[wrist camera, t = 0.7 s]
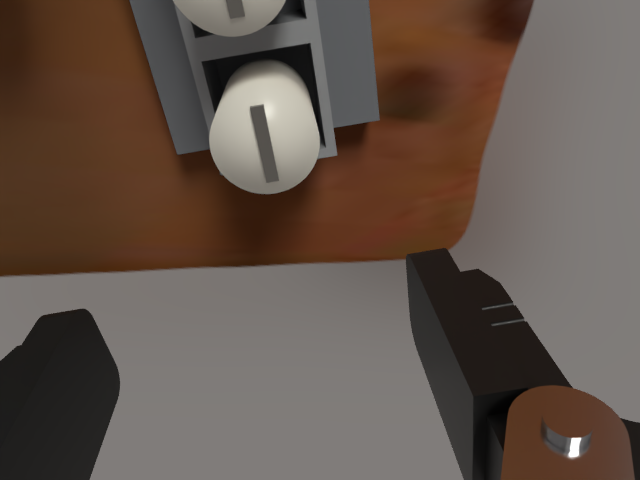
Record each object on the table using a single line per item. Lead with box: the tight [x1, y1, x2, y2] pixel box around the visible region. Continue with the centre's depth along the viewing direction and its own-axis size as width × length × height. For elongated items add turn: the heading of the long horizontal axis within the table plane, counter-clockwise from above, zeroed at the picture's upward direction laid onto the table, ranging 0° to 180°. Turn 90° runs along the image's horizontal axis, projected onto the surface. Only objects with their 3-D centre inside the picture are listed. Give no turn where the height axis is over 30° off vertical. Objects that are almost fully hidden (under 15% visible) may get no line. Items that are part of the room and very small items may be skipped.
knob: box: [209, 58, 320, 194], centre depth 22 cm, size 4×4×6 cm
